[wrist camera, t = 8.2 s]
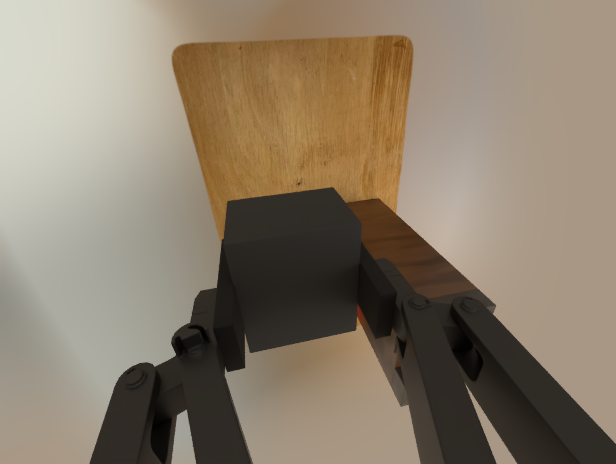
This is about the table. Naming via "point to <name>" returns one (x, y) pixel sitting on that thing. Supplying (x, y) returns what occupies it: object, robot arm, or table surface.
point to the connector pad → (294, 266)
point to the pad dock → (407, 276)
